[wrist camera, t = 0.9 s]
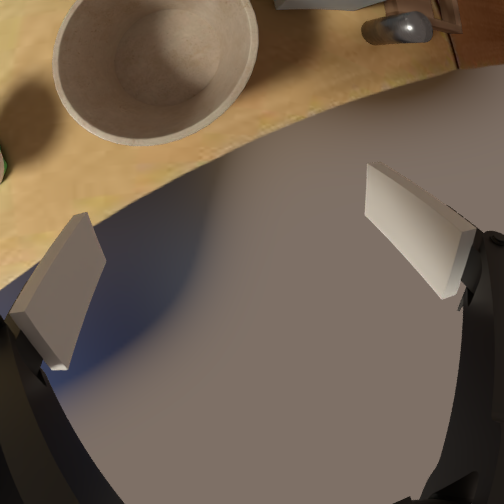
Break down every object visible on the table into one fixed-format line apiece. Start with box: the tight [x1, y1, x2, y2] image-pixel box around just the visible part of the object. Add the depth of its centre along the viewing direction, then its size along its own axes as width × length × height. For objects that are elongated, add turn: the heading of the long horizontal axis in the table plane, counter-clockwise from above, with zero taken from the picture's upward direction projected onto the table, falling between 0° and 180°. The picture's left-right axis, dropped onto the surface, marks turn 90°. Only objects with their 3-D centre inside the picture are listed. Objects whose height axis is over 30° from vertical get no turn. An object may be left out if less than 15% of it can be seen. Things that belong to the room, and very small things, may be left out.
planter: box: [52, 0, 259, 146], centre depth 22 cm, size 16×16×13 cm
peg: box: [361, 11, 433, 45], centre depth 24 cm, size 4×4×10 cm
